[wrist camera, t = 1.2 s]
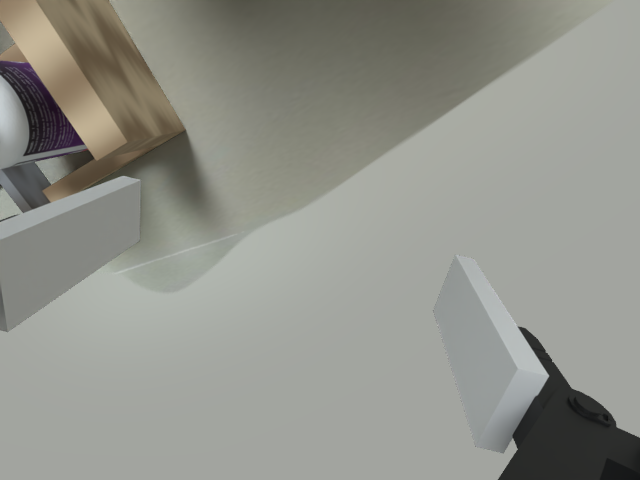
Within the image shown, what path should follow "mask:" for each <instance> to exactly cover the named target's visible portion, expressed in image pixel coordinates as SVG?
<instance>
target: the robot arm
mask: <svg viewBox="0 0 640 480" xmlns="http://www.w3.org/2000/svg"><path fill="white" fill-rule="evenodd" d="M140 206H141V180H139V179H135V178H131V177H126V176H121V177H118V178H115V179H113V180H110V181H108V182H105V183H102V184H100V185H97V186H94V187H92V188H89V189H86V190H84V191H81V192H78V193H76V194H73V195H70V196H68V197H65V198H62V199H60V200H57V201H54V202H52V203H49V204H46V205H44V206H41V207H38V208H36V209H33V210H30V211H28V212H25V213H22V214H19V215H14V216H11V217H8V218H6V219H3V220H0V330H2V331H6V332H9V331H10V330H11V329H13V328H14V327H16V326H17V325H19V324H20V323H21V322H23V321H24V320H26V319H27V318H29V317H30V316H32V315H33V314H35V313H36V312H37V311H38V310H40V309H42V308H43V307H45V306H46V305H47V304H49V303H50V302H52V301H53V300H55V299H56V298H57V297H59V296H60V295H62V294H63V293H65V292H66V291H68V290H69V289H71V288H72V287H73V286H75V285H76V284H78V283H79V282H81V281H82V280H84V279H85V278H86V277H88V276H89V275H91V274H92V273H94V272H95V271H96V270H98V269H99V268H101V267H102V266H104V265H105V264H107V263H108V262H109V261H111V260H112V259H114V258H115V257H117V256H118V255H120V254H121V253H122V252H124V251H125V250H127V249H128V248H130V247H131V246H132V245H134V244H135V243H137V242H138V241H140ZM433 312H434V315H435V318H436V321H437V325H438V328H439V331H440V334H441V338H442V341H443V344H444V347H445V350H446V353H447V356H448V360H449V363H450V366H451V370H452V373H453V376H454V379H455V382H456V385H457V389H458V392H459V395H460V399H461V402H462V405H463V408H464V411H465V415H466V418H467V421H468V424H469V427H470V430H471V434H472V437H473V440H474V443H475V446H476V447H480V448H484V449H488V450H492V451H496V452H500V453H504V452H505V450H506V448H507V446H508V445H509V443H510V441H511V440H512V438H513V439H514V441H515V443H516V445H517V448H518V450H517V451H516V453H515V454H514V456H513V458H512V459H511V460H510V462H509V464H508V465H507V467H506V468H505V470H504V471H503V473H502V474H501V476H500V477H499V479H498V480H640V438H639V437H637V436H635V435H632V434H630V433H628V432H626V431H623V430H621V429H619V428H617V427H616V421H615V420H614V419H613V417H612V415H611V414H610V413H609V412H608V411H607V410H606V409H605V408H604V407H603V406H602V405H601V404H600V403H598V402H597V401H595V400H594V399H593V398H591V397H589V396H587V395H585V394H583V393H582V392H579V391H576V390H573V389H572V388H571V387H570V385H569V384H568V382H567V381H566V379H565V378H564V377H563V375H562V374H561V372H560V371H559V369H558V368H557V367H556V365H555V364H554V362H552V359H551V358H550V356H549V355H548V353H545V349H544V348H543V346H542V345H541V343H540V342H539V340H538V339H537V338H536V337H534V336H533V335H532V334H531V333H530V332H529V331H528V330H527V329H525V328H522V327H518V326H517V325H516V324H515V322H514V321H513V319H512V317H511V316H510V314H509V313H508V311H507V310H506V308H505V307H504V305H503V303H502V302H501V301H500V299H499V297H498V296H497V294H496V292H495V291H494V290H493V288H492V286H491V285H490V283H489V282H488V280H487V278H486V277H485V276H484V274H483V272H482V271H481V269H480V267H479V266H478V264H477V263H476V261H475V260H474V259H473V258H468V257H464V256H460V255H455V256H454V259H453V261H452V264H451V267H450V269H449V272H448V274H447V277H446V279H445V282H444V285H443V287H442V289H441V292H440V294H439V297H438V300H437V302H436V304H435V308H434V310H433Z"/></svg>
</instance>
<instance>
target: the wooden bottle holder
mask: <svg viewBox="0 0 640 480" xmlns="http://www.w3.org/2000/svg"><path fill="white" fill-rule="evenodd" d="M0 21H1V22H2V24H3V25H4V27H5V28H6V30H7V31H8V33H9V34H10V36H11V37H12V38H13V40H14V41H15V44H14V45H12V46H11V47H10V48H8V49H7V50H6V51H4V52H3V53H2V54H1V55H0V61H15V62H26V63H30V65H31V66H32V68H33V69H34V71H35V72H36V73H37V75H38V76H39V78H40V79H41V81H42V82H43V84H44V85H45V87H46V88H47V89H48V91H49V92H50V94H51V95H52V97H53V98H54V100H55V101H56V103H57V104H58V106H59V107H60V108H61V110H62V111H63V113H64V114H65V116H66V117H67V119H68V120H69V122H70V123H71V124H72V126H73V127H74V129H75V130H76V132H77V133H78V135H79V136H80V138H81V139H82V141H83V142H84V143H85V145H86V146H87V148H88V149H89V151H90V152H91V154H92V155H93V157H94V158H95V159H93V160H92V161H90V162H88V163H87V164H85V165H83V166H82V167H80V168H79V169H77V170H75V171H74V172H72V173H70V174H69V175H67V176H65V177H64V178H62V179H60V180H59V181H57V182H56V183H54V184H52V185H51V184H50V183H49V182H48V180H47V179H46V177H45V176H44V175H43V173H42V172H41V171H40V169H39V168H38V167H37V165H36V164H35V163H34V162H31V163H26V164H22V165H17V166H13V167H9V168H4V169H0V184H1V185H2V187H3V188H4V189H5V190H6V192H7V193H8V194H9V196H10V197H11V198H12V199H13V201H14V202H15V203H16V205H17V206H18V207H19V208H20V210H21V211H22V212H23V213H25V212H28V211H30V210H33V209H36V208H38V207H41V206H44V205H46V204H49V203H52V202H54V201H57V200H60V199H62V198H65V197H68V196H70V195H73V194H76V193H78V192H81V191H82V190H84V189H86V188H88V187H89V186H91V185H93V184H94V183H96V182H98V181H100V180H101V179H103V178H105V177H106V176H108V175H110V174H111V173H113V172H115V171H117V170H118V169H120V168H122V167H123V166H125V165H127V164H129V163H130V162H132V161H134V160H135V159H137V158H139V157H141V156H142V155H144V154H146V153H147V152H149V151H151V150H152V149H154V148H156V147H158V146H159V145H161V144H163V143H164V142H166V141H168V140H170V139H171V138H173V137H175V136H176V135H178V134H180V133H181V132H183V131H185V128H184V126H183V125H182V123H181V121H180V119H179V118H178V116H177V114H176V113H175V111H174V109H173V108H172V106H171V104H170V103H169V101H168V99H167V98H166V96H165V94H164V93H163V91H162V89H161V88H160V86H159V84H158V83H157V81H156V79H155V78H154V76H153V74H152V73H151V71H150V69H149V68H148V66H147V64H146V63H145V61H144V59H143V58H142V56H141V54H140V52H139V51H138V49H137V47H136V46H135V44H134V42H133V41H132V39H131V37H130V36H129V34H128V32H127V31H126V29H125V27H124V26H123V24H122V22H121V21H120V19H119V17H118V16H117V14H116V12H115V11H114V9H113V7H112V6H111V4H110V2H109V1H108V0H0Z"/></svg>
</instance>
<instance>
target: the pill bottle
mask: <svg viewBox="0 0 640 480" xmlns="http://www.w3.org/2000/svg"><path fill="white" fill-rule="evenodd" d="M86 150H89V149H88V148H87V146H86V145H85V143H84V142H83V141H82V139H81V138H80V136H79V135H78V133H77V132H76V130H75V129H74V127H73V126H72V124H71V123H70V122H69V120H68V119H67V117H66V116H65V114H64V113H63V111H62V110H61V108H60V107H59V106H58V104H57V103H56V101H55V100H54V98H53V97H52V95H51V94H50V92H49V91H48V89H47V88H46V87H45V85H44V84H43V82H42V81H41V79H40V78H39V76H38V75H37V73H36V72H35V71H34V69H33V68H32V66H31V65H30V63H26V62H15V61H0V169H4V168H9V167H13V166H17V165H22V164H26V163H31V162H35V161H40V160H44V159H49V158H54V157H58V156H63V155H68V154H72V153H78V152H82V151H86Z"/></svg>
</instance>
